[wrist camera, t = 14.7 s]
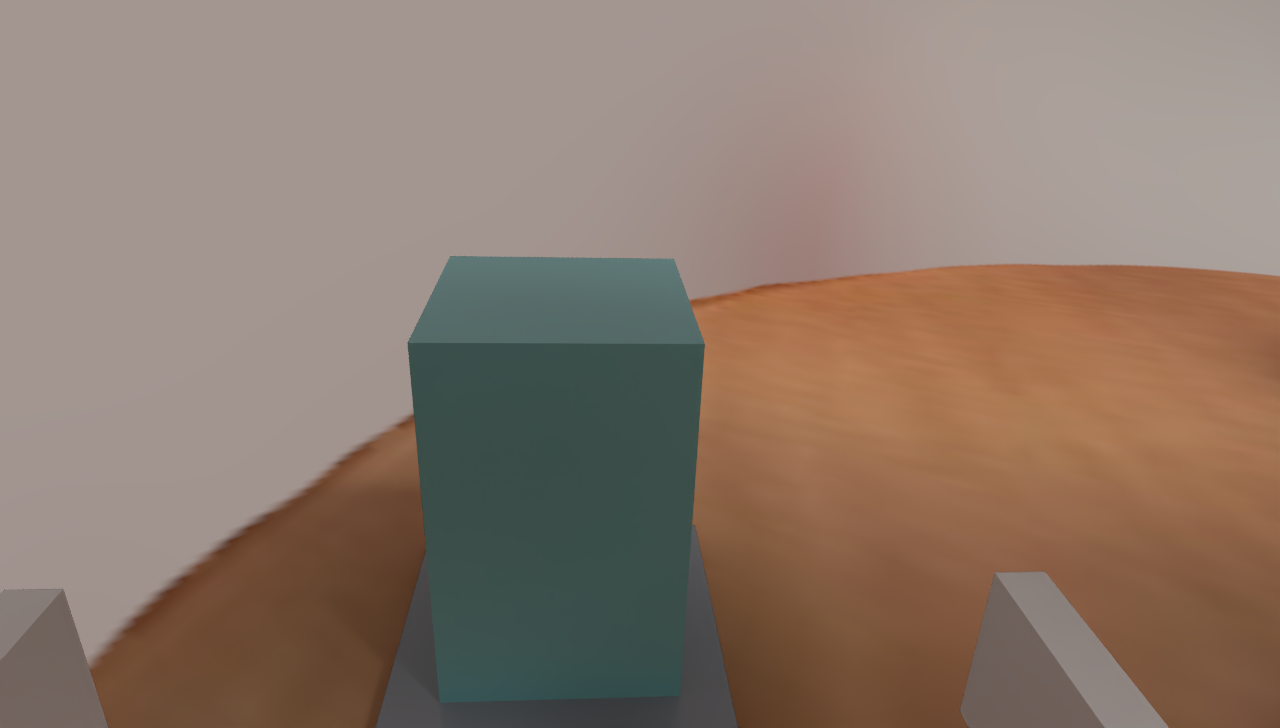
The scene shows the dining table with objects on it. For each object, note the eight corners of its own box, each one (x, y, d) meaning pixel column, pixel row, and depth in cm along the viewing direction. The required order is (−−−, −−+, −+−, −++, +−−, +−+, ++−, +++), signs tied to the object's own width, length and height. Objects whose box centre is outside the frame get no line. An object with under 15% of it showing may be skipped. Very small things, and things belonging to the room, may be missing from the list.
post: (433, 542, 28) (415, 337, 25) (693, 539, 29) (708, 339, 26) (371, 767, 20) (334, 503, 17) (738, 756, 21) (767, 500, 17)
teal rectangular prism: (469, 553, 27) (450, 256, 23) (658, 550, 27) (673, 258, 23) (439, 702, 21) (407, 342, 17) (679, 695, 22) (704, 344, 17)
